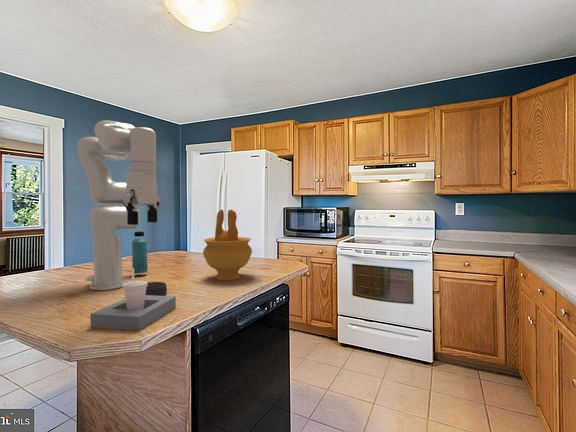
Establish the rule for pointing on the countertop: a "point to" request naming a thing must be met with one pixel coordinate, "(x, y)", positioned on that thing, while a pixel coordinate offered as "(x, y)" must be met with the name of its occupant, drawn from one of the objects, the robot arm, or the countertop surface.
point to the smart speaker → (156, 288)
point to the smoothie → (135, 293)
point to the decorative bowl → (227, 248)
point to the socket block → (132, 313)
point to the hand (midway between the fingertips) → (143, 223)
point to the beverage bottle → (139, 254)
